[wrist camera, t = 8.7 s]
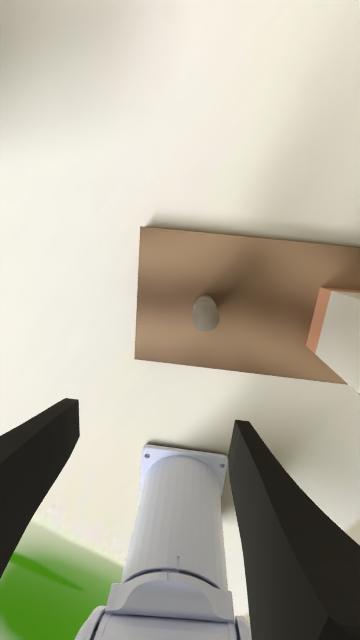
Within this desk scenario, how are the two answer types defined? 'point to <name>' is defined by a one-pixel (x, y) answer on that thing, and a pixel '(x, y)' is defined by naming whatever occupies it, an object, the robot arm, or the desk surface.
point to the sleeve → (338, 333)
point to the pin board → (236, 301)
